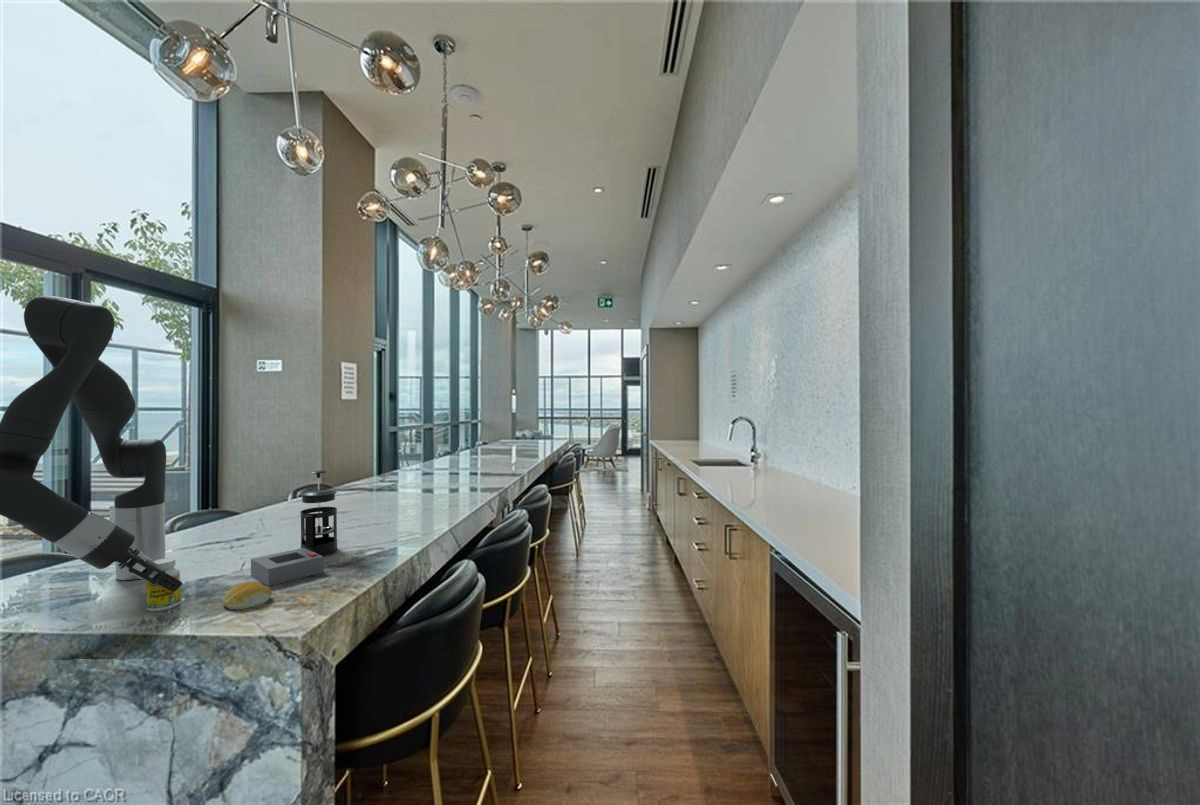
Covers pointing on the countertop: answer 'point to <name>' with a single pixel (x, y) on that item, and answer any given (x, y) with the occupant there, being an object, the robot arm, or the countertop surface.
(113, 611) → the countertop surface
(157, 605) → the supplement bottle
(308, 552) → the socket block
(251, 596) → the bread roll
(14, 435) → the robot arm
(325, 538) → the french press
